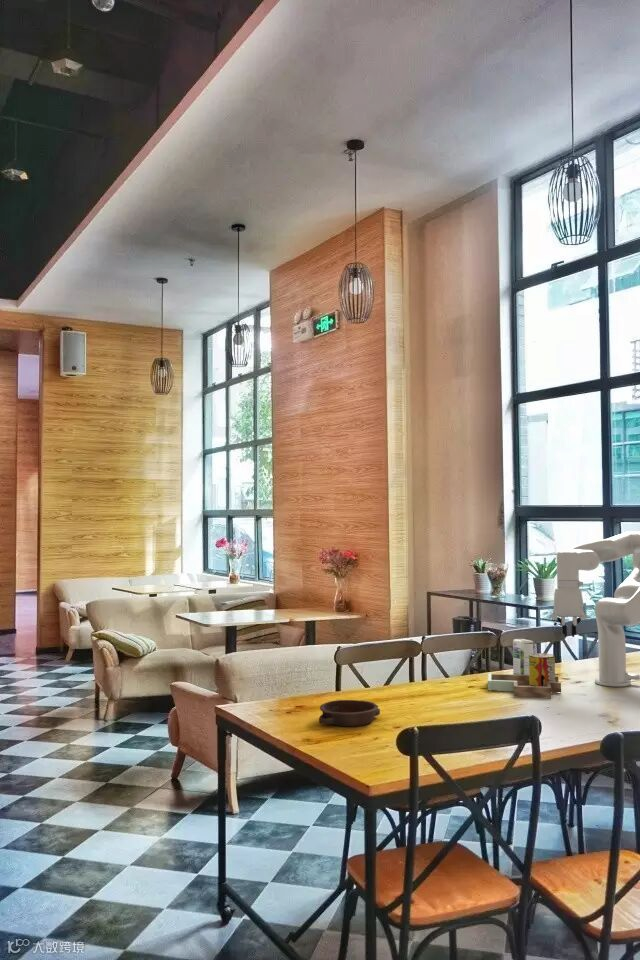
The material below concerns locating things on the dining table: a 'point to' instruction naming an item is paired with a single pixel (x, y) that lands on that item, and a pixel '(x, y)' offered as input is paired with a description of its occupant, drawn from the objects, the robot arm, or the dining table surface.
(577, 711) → the dining table surface
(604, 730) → the dining table surface
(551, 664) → the beverage can
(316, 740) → the dining table surface
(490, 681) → the end bay
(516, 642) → the syrup box
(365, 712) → the dish
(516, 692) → the open walled frame
